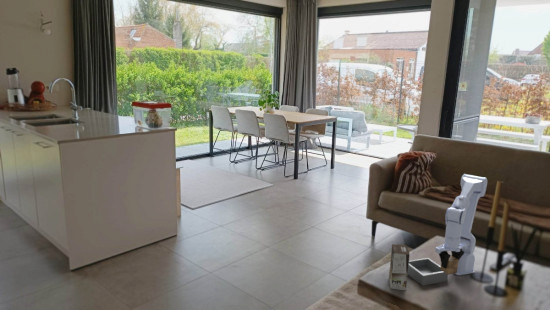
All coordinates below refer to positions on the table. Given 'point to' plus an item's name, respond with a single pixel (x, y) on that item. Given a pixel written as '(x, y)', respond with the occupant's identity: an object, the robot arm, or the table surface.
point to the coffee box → (399, 267)
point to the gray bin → (426, 271)
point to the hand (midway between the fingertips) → (448, 266)
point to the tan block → (451, 265)
